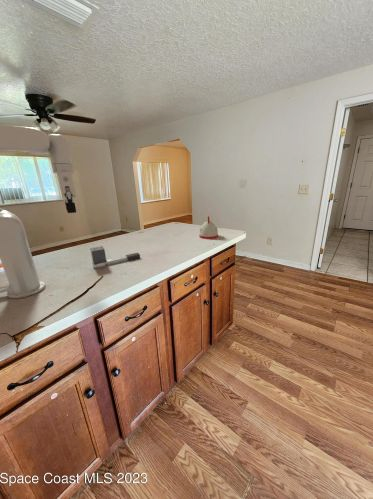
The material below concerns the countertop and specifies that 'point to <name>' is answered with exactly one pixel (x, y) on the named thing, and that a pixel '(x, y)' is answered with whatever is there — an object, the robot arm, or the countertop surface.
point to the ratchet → (117, 260)
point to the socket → (98, 255)
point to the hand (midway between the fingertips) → (71, 211)
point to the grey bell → (208, 230)
